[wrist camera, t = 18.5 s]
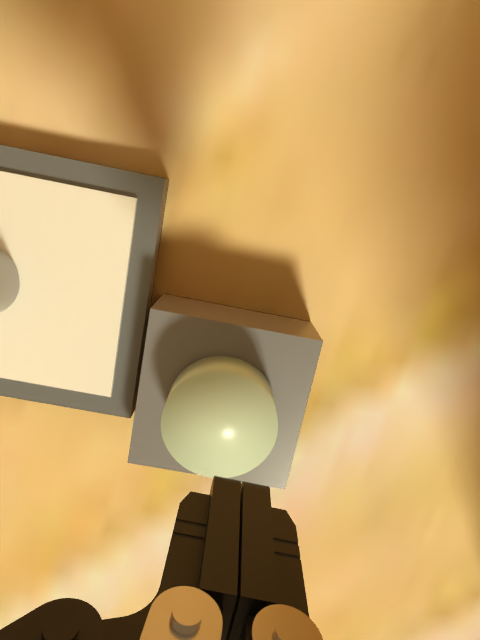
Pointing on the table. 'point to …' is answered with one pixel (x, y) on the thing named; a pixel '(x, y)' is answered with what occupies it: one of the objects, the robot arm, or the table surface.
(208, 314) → the button housing
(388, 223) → the table surface
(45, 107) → the table surface
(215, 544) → the robot arm
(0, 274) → the marker
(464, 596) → the table surface
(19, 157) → the drawing slate
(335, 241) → the table surface
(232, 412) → the button
